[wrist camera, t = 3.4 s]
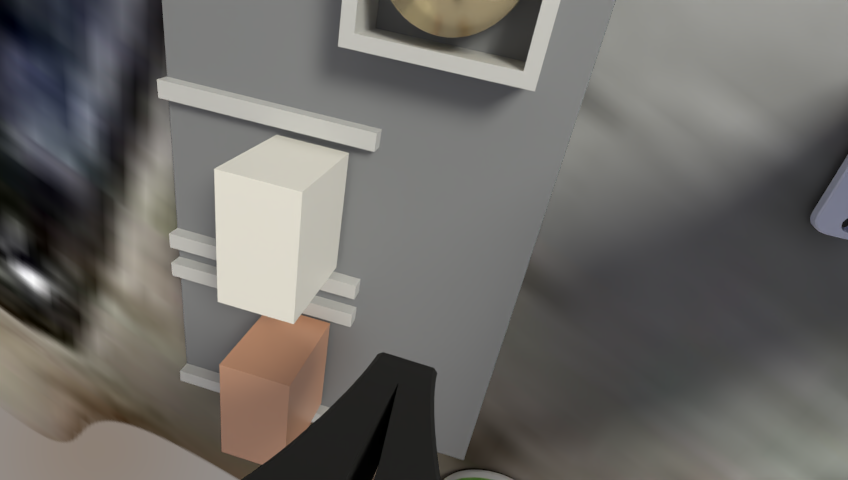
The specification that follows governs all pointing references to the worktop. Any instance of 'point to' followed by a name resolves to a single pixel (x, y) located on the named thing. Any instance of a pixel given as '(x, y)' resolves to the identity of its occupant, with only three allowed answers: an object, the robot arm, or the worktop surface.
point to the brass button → (454, 15)
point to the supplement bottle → (477, 475)
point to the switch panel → (382, 171)
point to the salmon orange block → (272, 386)
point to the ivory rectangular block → (278, 225)
